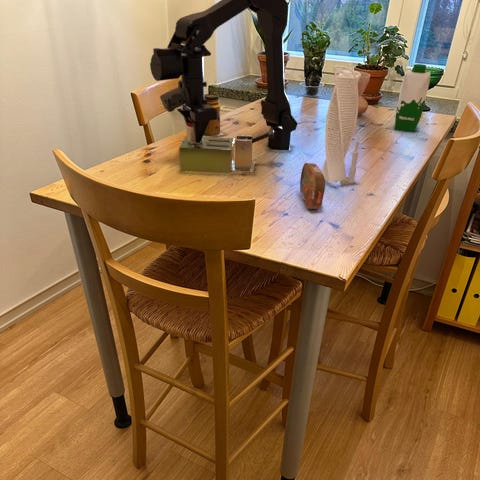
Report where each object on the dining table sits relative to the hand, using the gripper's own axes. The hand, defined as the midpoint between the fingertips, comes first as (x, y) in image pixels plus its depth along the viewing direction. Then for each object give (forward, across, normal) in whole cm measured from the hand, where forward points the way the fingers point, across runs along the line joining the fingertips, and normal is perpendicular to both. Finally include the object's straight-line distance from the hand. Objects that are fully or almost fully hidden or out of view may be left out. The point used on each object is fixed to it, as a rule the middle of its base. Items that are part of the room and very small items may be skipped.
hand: (194, 140), depth 127 cm
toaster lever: (0, +9, +15) cm, 17 cm away
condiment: (+8, -28, +16) cm, 33 cm away
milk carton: (+8, -8, +84) cm, 85 cm away
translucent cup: (0, 0, 0) cm, 0 cm away
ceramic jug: (+8, -32, +76) cm, 83 cm away
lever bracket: (+8, +7, +12) cm, 15 cm away
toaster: (+8, +2, +3) cm, 8 cm away
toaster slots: (+1, +3, +6) cm, 7 cm away
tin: (+8, +33, +17) cm, 38 cm away
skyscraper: (+8, +24, +31) cm, 40 cm away
